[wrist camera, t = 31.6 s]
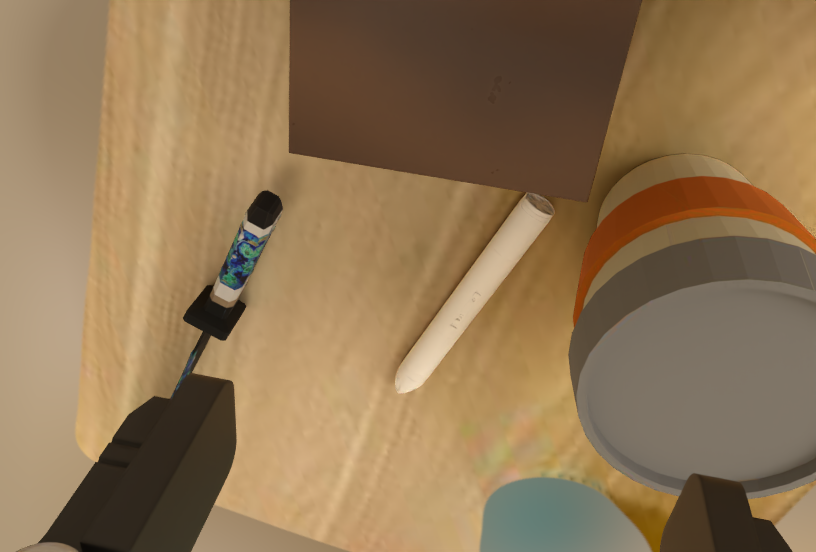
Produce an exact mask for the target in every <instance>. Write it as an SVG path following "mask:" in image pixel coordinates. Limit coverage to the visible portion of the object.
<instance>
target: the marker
mask: <svg viewBox="0 0 816 552" xmlns="http://www.w3.org/2000/svg"><path fill="white" fill-rule="evenodd" d="M554 213H555V210H554V207H553V206H552V204H551V203H550V202H549V201H548V200H546V199H545V198H544V197H542V196H541V195H539V194H533V193H526V194H525V196H523V198H522V199H521V200H520V201H519V203H518V204H517V205H516V207H515V208H514V209H513V211H512V212H511V214H510V215H509V216H508V218H507V219H506V220H505V222H504V223H503V224H502V226H501V227H500V229H499V230H498V231H497V233H496V234H495V235H494V237H493V238H492V240H491V241H490V242H489V244H488V245H487V246H486V248H485V249H484V251H483V252H482V253H481V255H480V256H479V257H478V259H477V260H476V261H475V263H474V264H473V266H472V267H471V268H470V270H469V271H468V272H467V274H466V275H465V277H464V278H463V279H462V281H461V282H460V283H459V285H458V286H457V287H456V289H455V290H454V292H453V293H452V294H451V296H450V297H449V298H448V300H447V301H446V303H445V304H444V305H443V307H442V308H441V309H440V311H439V312H438V314H437V315H436V316H435V318H434V319H433V320H432V322H431V323H430V324H429V326H428V327H427V329H426V330H425V331H424V333H423V334H422V335H421V337H420V338H419V340H418V341H417V342H416V344H415V345H414V346H413V348H412V349H411V350H410V352H409V353H408V354H407V356H406V357H405V359H404V360H403V361H402V363H401V365H400V366H399V368H398V371H397V374H396V378H395V387H396V391H397V393H400V394H402V393H406V392H409V391H413V390H415V389H417V388H418V387H420V386H421V385H422V384H423V383H424V382H425V381H426V380H427V378H428V377H429V376H430V375H431V373H432V372H433V371H434V369H435V368H436V367H437V365H438V364H439V363H440V362H441V360H442V359H443V358H444V356H445V355H446V354H447V353H448V351H449V350H450V349H451V347H452V346H453V345H454V344H455V342H456V341H457V340H458V338H459V337H460V336H461V335H462V333H463V332H464V331H465V329H466V328H467V327H468V326H469V324H470V323H471V322H472V320H473V319H474V318H475V317H476V315H477V314H478V313H479V311H480V310H481V309H482V307H483V306H484V305H485V304H486V302H487V301H488V300H489V298H490V297H491V296H492V295H493V293H494V292H495V291H496V289H497V288H498V287H499V286H500V284H501V283H502V282H503V280H504V279H505V278H506V277H507V275H508V274H509V273H510V271H511V270H512V269H513V268H514V266H515V265H516V264H517V262H518V261H519V260H520V259H521V257H522V256H523V255H524V253H525V252H526V251H527V249H528V248H529V247H530V246H531V244H532V243H533V242H534V240H535V239H536V238H537V237H538V235H539V234H540V233H541V231H542V230H543V229H544V228H545V226H546V225H547V224H548V223H549V221H550V219H551V218H552V216H553V215H554Z"/></svg>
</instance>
